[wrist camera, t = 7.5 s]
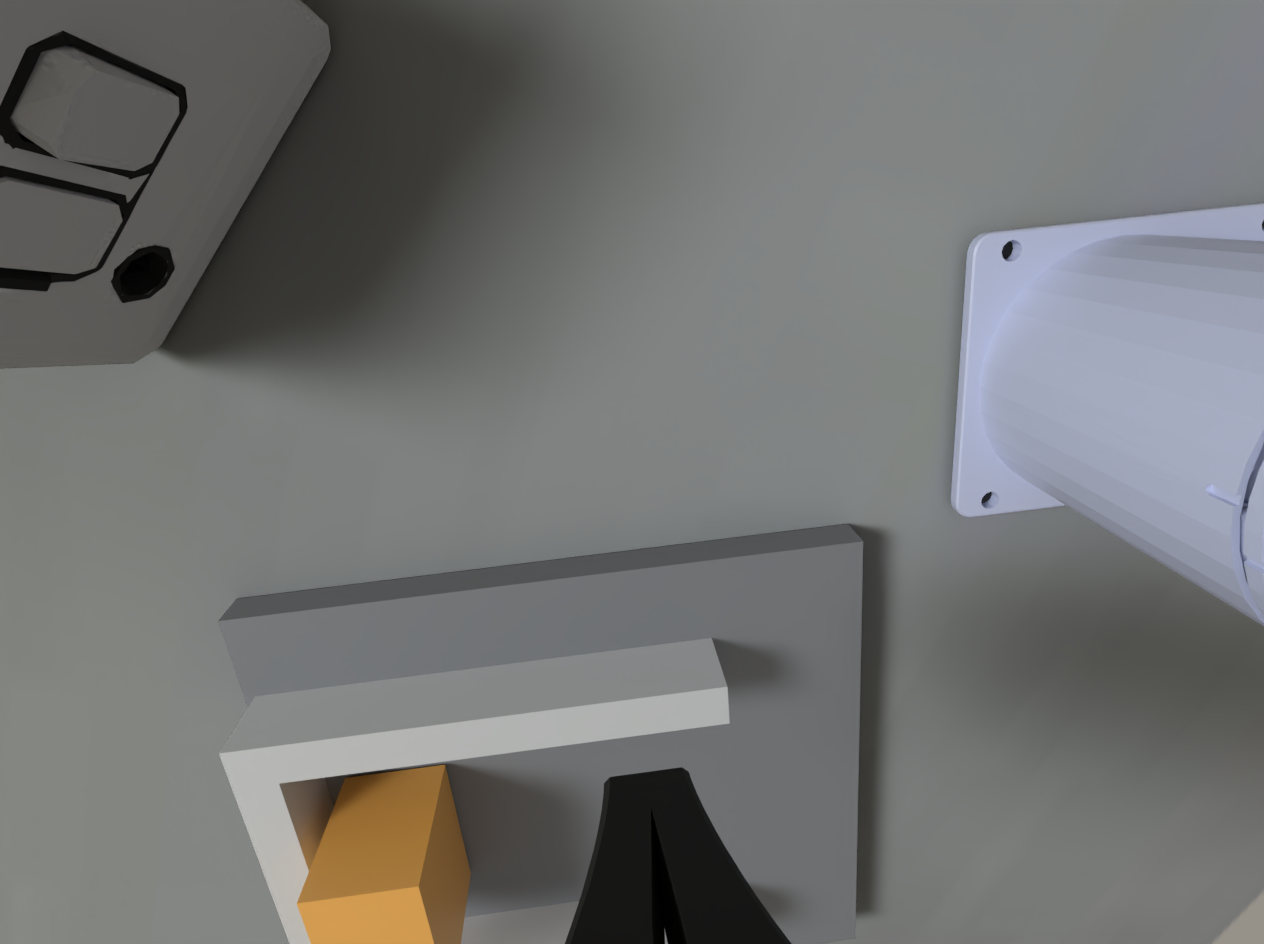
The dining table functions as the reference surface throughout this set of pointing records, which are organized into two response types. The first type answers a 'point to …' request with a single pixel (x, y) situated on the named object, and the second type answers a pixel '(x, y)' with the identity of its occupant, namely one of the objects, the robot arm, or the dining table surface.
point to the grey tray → (570, 716)
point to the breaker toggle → (389, 864)
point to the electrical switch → (132, 159)
